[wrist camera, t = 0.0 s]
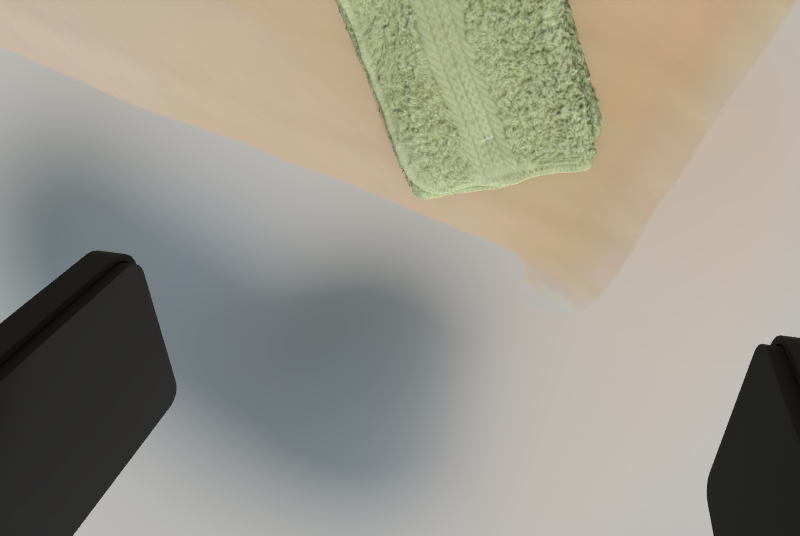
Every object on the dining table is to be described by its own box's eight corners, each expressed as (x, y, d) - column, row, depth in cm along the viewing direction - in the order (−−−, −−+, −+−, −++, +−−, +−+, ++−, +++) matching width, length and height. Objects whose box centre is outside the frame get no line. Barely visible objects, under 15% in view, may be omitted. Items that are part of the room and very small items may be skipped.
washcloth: (420, 198, 44) (409, 220, 42) (315, -67, 37) (294, -61, 34) (612, 150, 39) (614, 172, 37) (537, -169, 32) (532, -171, 29)
